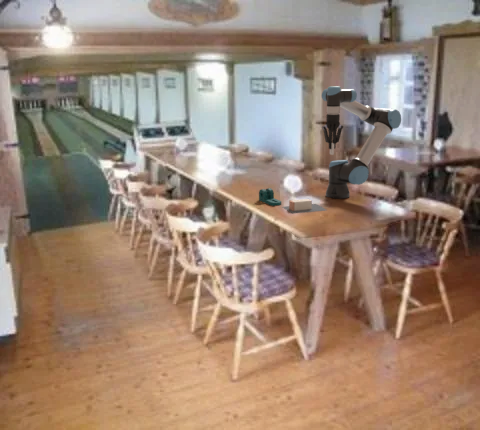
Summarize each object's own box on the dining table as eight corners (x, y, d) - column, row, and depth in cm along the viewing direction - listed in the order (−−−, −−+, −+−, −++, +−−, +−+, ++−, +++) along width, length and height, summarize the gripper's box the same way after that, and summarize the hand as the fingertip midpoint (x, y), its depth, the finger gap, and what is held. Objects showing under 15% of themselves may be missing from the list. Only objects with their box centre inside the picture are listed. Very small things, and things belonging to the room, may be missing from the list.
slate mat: (315, 204, 316) (315, 203, 316) (327, 211, 301) (327, 210, 301) (281, 207, 310) (281, 206, 310) (292, 214, 295) (292, 213, 295)
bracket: (259, 200, 328) (258, 188, 326) (268, 199, 331) (268, 187, 329) (273, 207, 312) (273, 194, 310) (283, 205, 315) (283, 192, 313)
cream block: (308, 198, 307) (289, 200, 304) (311, 200, 302) (292, 202, 299) (308, 206, 308) (289, 208, 305) (311, 209, 304) (292, 210, 301)
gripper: (340, 112, 306) (338, 152, 312) (319, 113, 302) (318, 154, 309) (346, 113, 299) (344, 154, 305) (325, 114, 295) (324, 156, 302)
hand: (331, 154), depth 307 cm, fingers closed
